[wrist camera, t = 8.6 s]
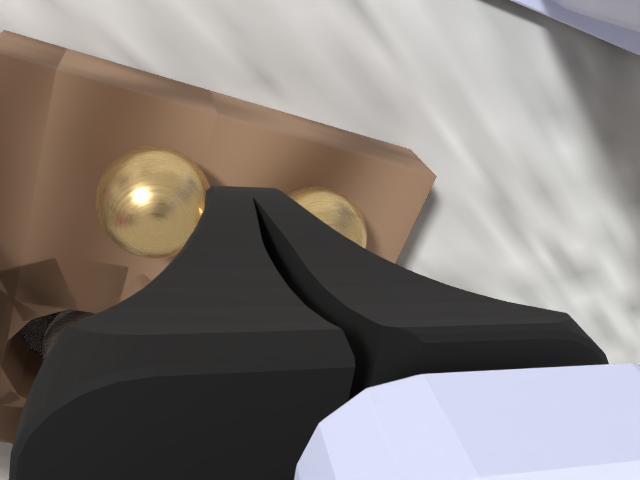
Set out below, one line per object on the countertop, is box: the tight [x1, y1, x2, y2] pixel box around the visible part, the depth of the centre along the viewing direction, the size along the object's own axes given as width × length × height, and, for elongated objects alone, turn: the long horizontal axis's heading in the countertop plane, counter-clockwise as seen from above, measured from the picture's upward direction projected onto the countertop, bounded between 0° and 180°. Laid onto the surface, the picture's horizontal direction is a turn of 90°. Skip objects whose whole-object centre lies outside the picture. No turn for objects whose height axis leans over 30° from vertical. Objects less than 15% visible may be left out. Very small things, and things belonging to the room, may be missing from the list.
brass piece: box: [288, 187, 367, 249], centre depth 19 cm, size 3×3×3 cm
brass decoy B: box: [96, 146, 210, 259], centre depth 17 cm, size 3×3×3 cm
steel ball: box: [42, 309, 97, 362], centre depth 22 cm, size 3×3×3 cm
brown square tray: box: [0, 30, 437, 444], centre depth 22 cm, size 14×14×2 cm
